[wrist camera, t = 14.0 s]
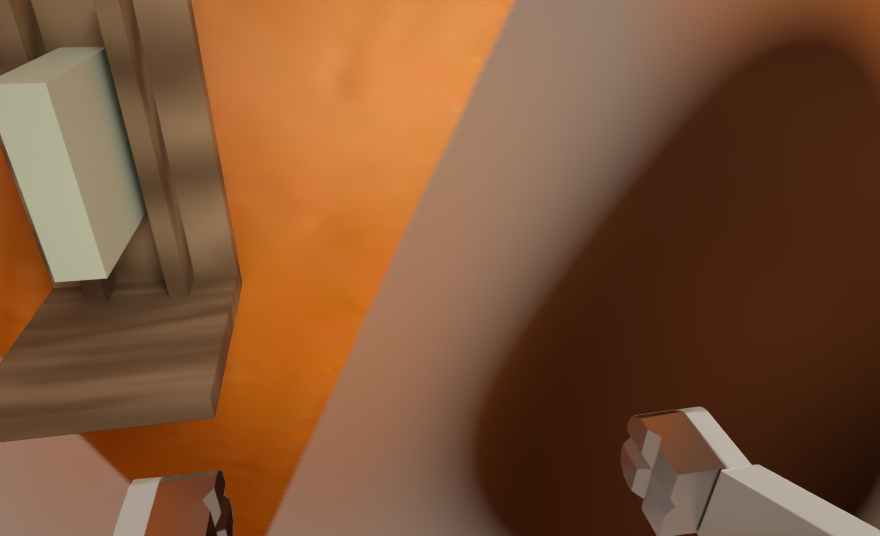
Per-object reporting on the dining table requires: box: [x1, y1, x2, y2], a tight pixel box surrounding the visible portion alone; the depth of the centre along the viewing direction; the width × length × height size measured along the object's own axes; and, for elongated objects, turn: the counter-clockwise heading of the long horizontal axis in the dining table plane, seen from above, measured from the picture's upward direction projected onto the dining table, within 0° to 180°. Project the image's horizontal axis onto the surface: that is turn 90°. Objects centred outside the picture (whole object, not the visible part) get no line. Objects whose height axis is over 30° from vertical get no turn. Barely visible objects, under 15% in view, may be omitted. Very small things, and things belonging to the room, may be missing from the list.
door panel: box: [0, 47, 147, 282], centre depth 32 cm, size 10×2×9 cm, turn 179°
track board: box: [0, 0, 242, 442], centre depth 32 cm, size 20×12×14 cm, turn 179°
